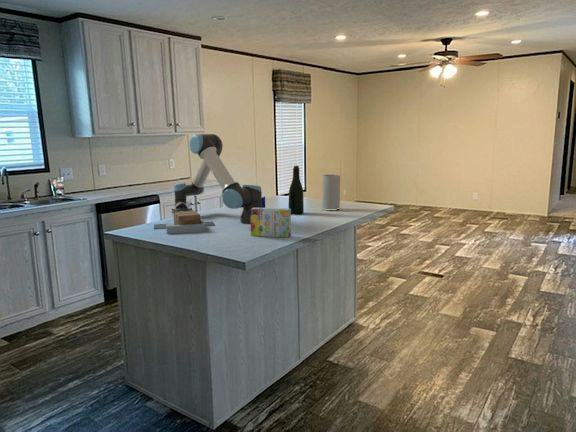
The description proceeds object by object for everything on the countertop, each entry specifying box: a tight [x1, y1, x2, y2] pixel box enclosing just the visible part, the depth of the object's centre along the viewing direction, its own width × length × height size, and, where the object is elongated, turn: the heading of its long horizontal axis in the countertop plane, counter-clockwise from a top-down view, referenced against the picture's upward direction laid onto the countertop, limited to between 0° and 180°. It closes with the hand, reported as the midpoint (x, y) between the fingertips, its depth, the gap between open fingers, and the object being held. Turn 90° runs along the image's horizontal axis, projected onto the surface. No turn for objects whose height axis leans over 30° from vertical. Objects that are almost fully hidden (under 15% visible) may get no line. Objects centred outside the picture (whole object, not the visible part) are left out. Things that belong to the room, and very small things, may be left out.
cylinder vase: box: [321, 174, 341, 209], centre depth 318 cm, size 12×12×25 cm
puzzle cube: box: [262, 195, 266, 208], centre depth 315 cm, size 10×10×10 cm
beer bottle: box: [288, 165, 305, 215], centre depth 301 cm, size 10×10×33 cm
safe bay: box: [165, 219, 206, 235], centre depth 250 cm, size 14×21×4 cm, turn 106°
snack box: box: [250, 207, 292, 239], centre depth 235 cm, size 21×6×15 cm, turn 77°
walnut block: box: [173, 210, 202, 225], centre depth 255 cm, size 16×12×9 cm
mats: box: [153, 220, 216, 230], centre depth 263 cm, size 12×35×1 cm, turn 106°
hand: (183, 215), depth 262 cm, fingers closed
